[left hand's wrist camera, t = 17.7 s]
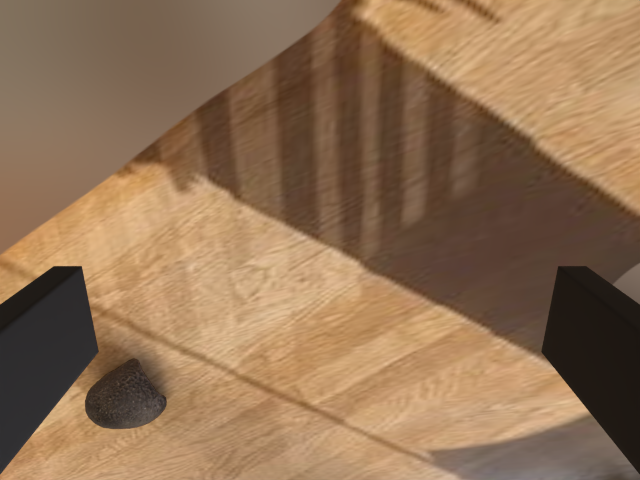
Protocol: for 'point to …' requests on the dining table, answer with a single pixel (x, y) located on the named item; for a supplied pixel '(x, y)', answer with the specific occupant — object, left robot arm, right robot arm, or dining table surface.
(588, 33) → the dining table surface
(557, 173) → the dining table surface
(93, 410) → the stone
